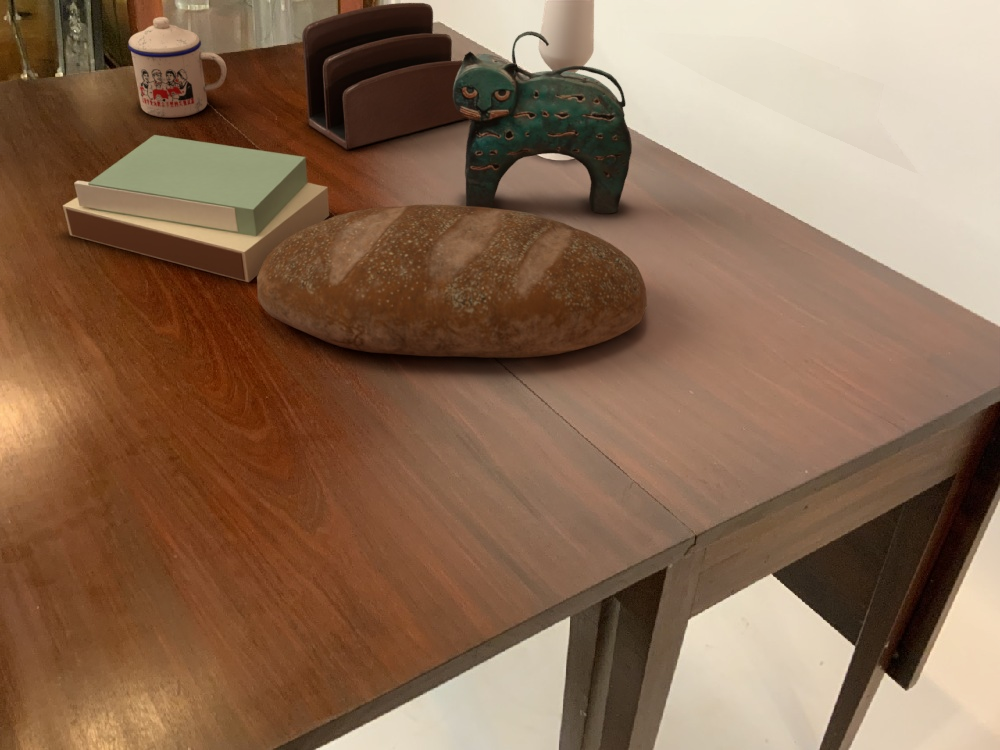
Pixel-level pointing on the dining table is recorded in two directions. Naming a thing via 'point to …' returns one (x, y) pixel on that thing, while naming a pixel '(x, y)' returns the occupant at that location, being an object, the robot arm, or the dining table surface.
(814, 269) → the dining table surface
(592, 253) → the bread
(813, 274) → the dining table surface
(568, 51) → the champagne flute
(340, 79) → the letter holder
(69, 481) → the dining table surface
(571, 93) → the ceramic cat
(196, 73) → the teacup with lid
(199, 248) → the book stack
